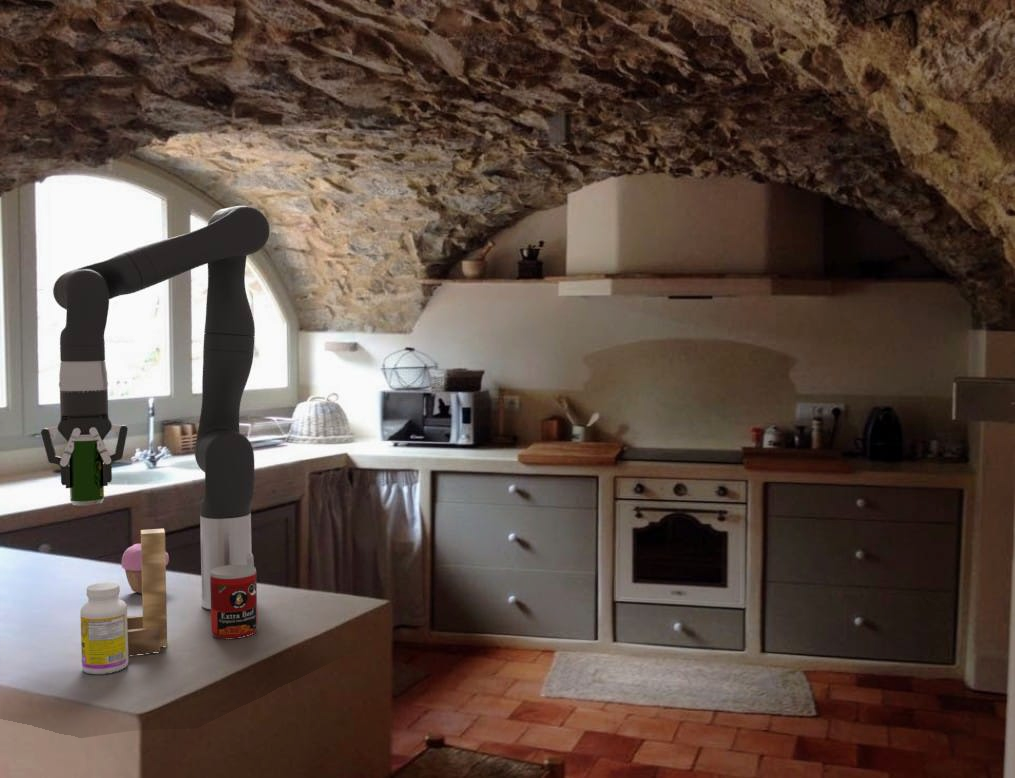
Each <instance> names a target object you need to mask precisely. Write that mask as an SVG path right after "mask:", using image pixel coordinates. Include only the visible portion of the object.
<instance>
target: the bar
mask: <svg viewBox="0 0 1015 778" xmlns="http://www.w3.org/2000/svg"><path fill="white" fill-rule="evenodd" d="M140 543H141V564H142V594H141V596H142V597H141V599H142V601H141V603H142V608H141V609H142V615H143V628H150V627H159V639H160V647H163V646H167V647H168V615H167V613H168V612H167V610H168V609H167V605H168V604H167V568H166V566H167V565H166V559H165V551H166V531H165V528H152V529H151V528H150V529H140ZM163 648H164V647H163Z"/></svg>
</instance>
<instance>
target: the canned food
mask: <svg viewBox="0 0 1015 778" xmlns="http://www.w3.org/2000/svg"><path fill="white" fill-rule="evenodd" d="M257 582H258V580H257V569H256V566H254V567H253V566H250V565H226V566H221V567H217V568H214V569H212V570H211V574H210V590H211V609H210V619H211V621H210V624H211V627H210V629H211V630H210V631H211V633H212V635H213V637H215V638H217V637H218V638H217V639H221V638H223V639H222V640H224V639H225V640H229V639H228V638H238V637H243V636H247V635H250V634H252V633H254V632H255V631H257V628H258V602H257V601H258V595H257V593H258V591H257V590H258V589H257V586H258V583H257ZM255 633H256V632H255ZM255 633H254V634H255ZM252 635H253V634H252ZM250 636H251V635H250ZM247 637H248V636H247ZM226 638H227V639H226ZM238 639H239V638H238Z"/></svg>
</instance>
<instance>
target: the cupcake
mask: <svg viewBox="0 0 1015 778" xmlns="http://www.w3.org/2000/svg"><path fill="white" fill-rule="evenodd" d="M169 557H170V556H169V553H168V552H167V551H166V550H165V559H166V566H167V565H168V563H169V561H170V559H169ZM121 568H122V569H123V570H124V572H125V576H126V579H127V582H128V584H129V587H130V589H131V591H132V592H134V593H138V594H141V595H142V564H141V542H140V543H135V544H132V546H129V547H128V548H126V549H125V550H124V552H123V555H122V557H121Z"/></svg>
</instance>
